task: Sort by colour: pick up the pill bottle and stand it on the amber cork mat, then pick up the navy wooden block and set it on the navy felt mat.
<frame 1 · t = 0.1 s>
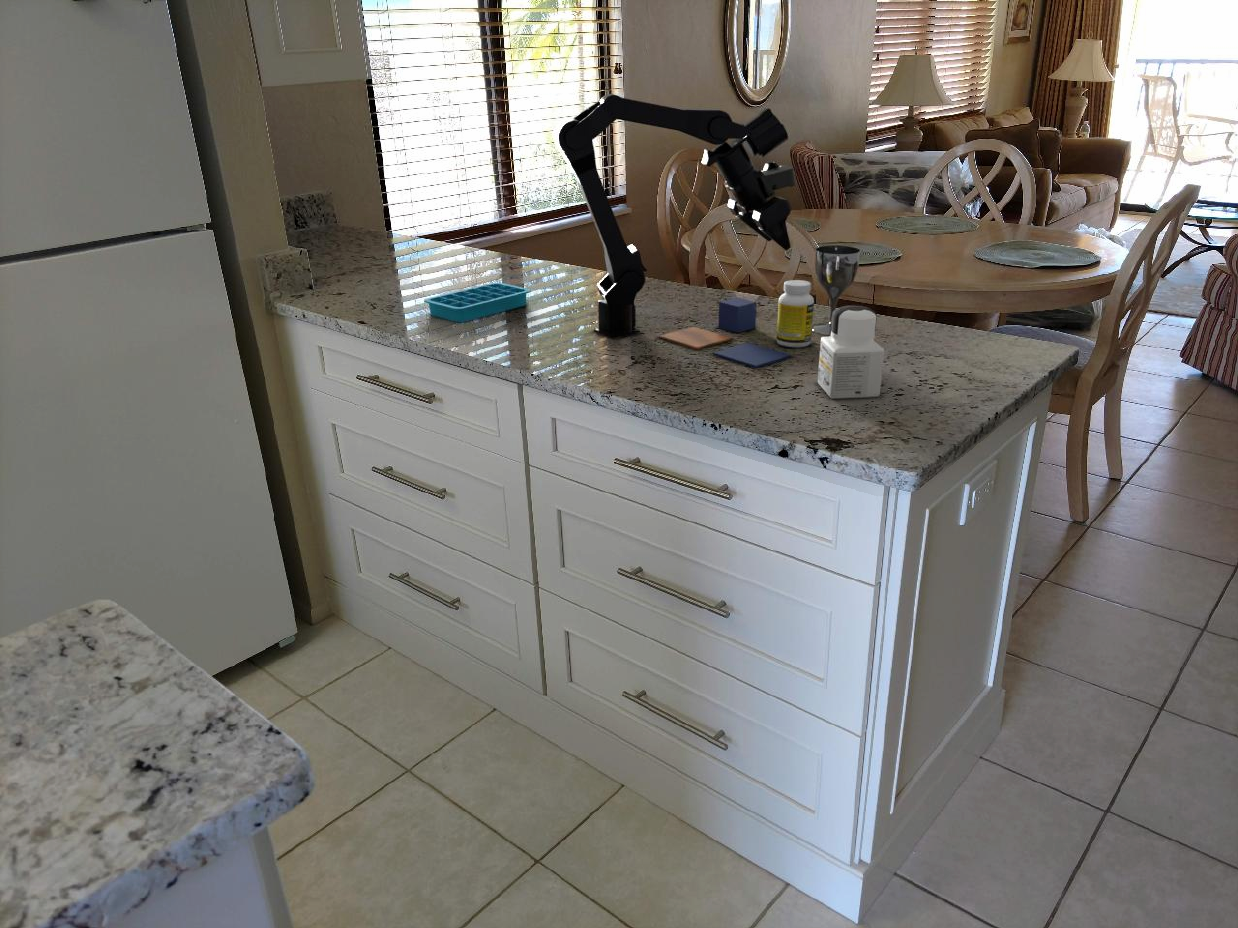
hand: (779, 244, 180), 15 cm above the counter, tool tilted 30°, fingers open, 9 cm apart
navy block: (736, 327, 182), on the counter
container: (847, 391, 150), on the counter
wine glass: (831, 331, 180), on the counter
ice cube tray: (479, 310, 197), on the counter
navy mat: (751, 356, 166), on the counter
pill bottle: (793, 344, 173), on the counter
amber mat: (695, 338, 176), on the counter
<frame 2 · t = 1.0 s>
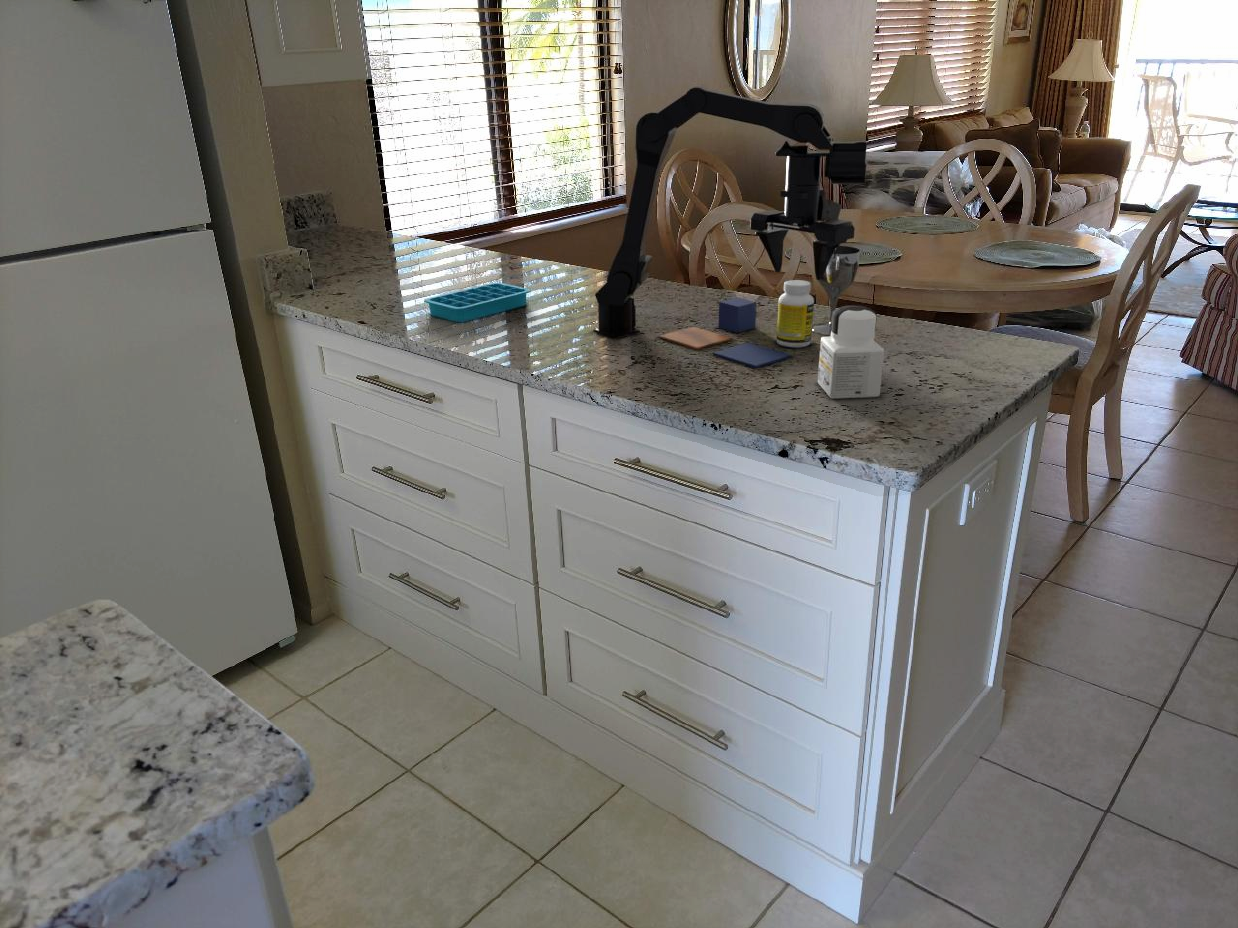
hand: (798, 275, 168), 12 cm above the counter, tool pointing down, fingers open, 9 cm apart
nothing on the counter moved.
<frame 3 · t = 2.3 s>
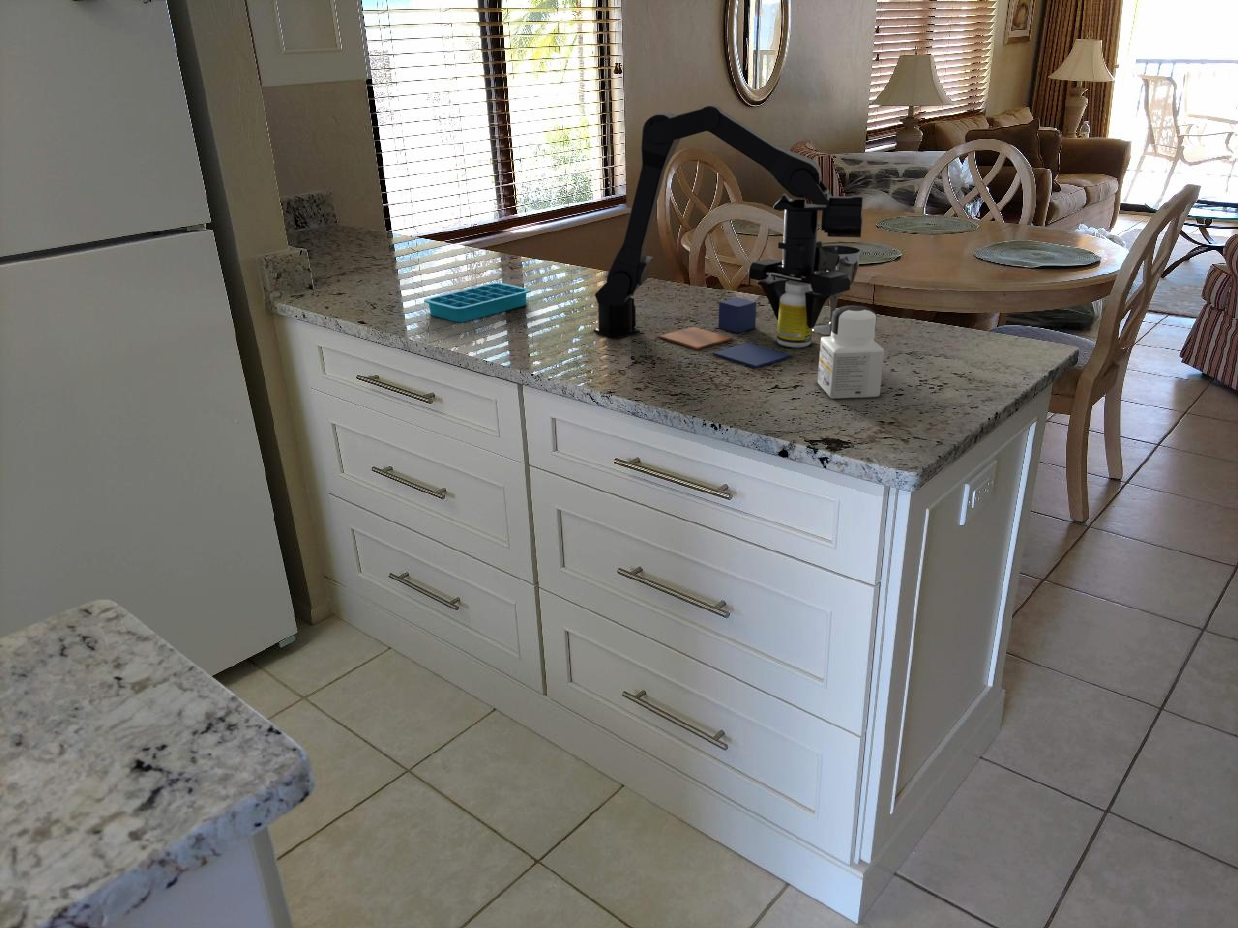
hand: (795, 324, 171), 4 cm above the counter, tool pointing down, fingers closed on pill bottle, 7 cm apart
pill bottle: (793, 344, 173), on the counter, touching gripper
everything else where it was.
when the fingers open (4 cm above the counter, at t = 7.8 s): pill bottle stays where it is, resting on amber mat.
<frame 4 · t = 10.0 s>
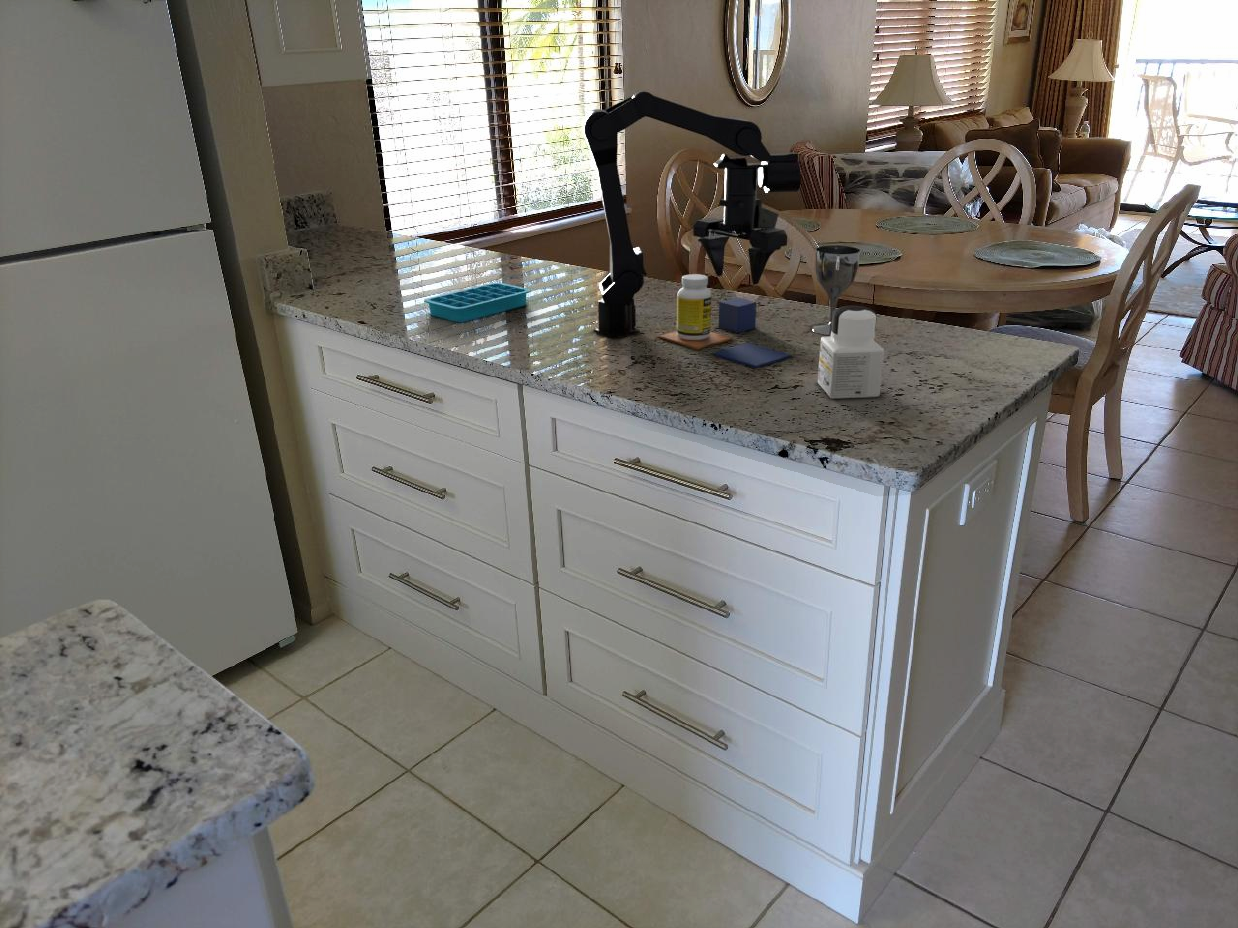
hand: (737, 279, 178), 9 cm above the counter, tool pointing down, fingers open, 9 cm apart
pill bottle: (693, 337, 176), resting on amber mat
everything else where it was.
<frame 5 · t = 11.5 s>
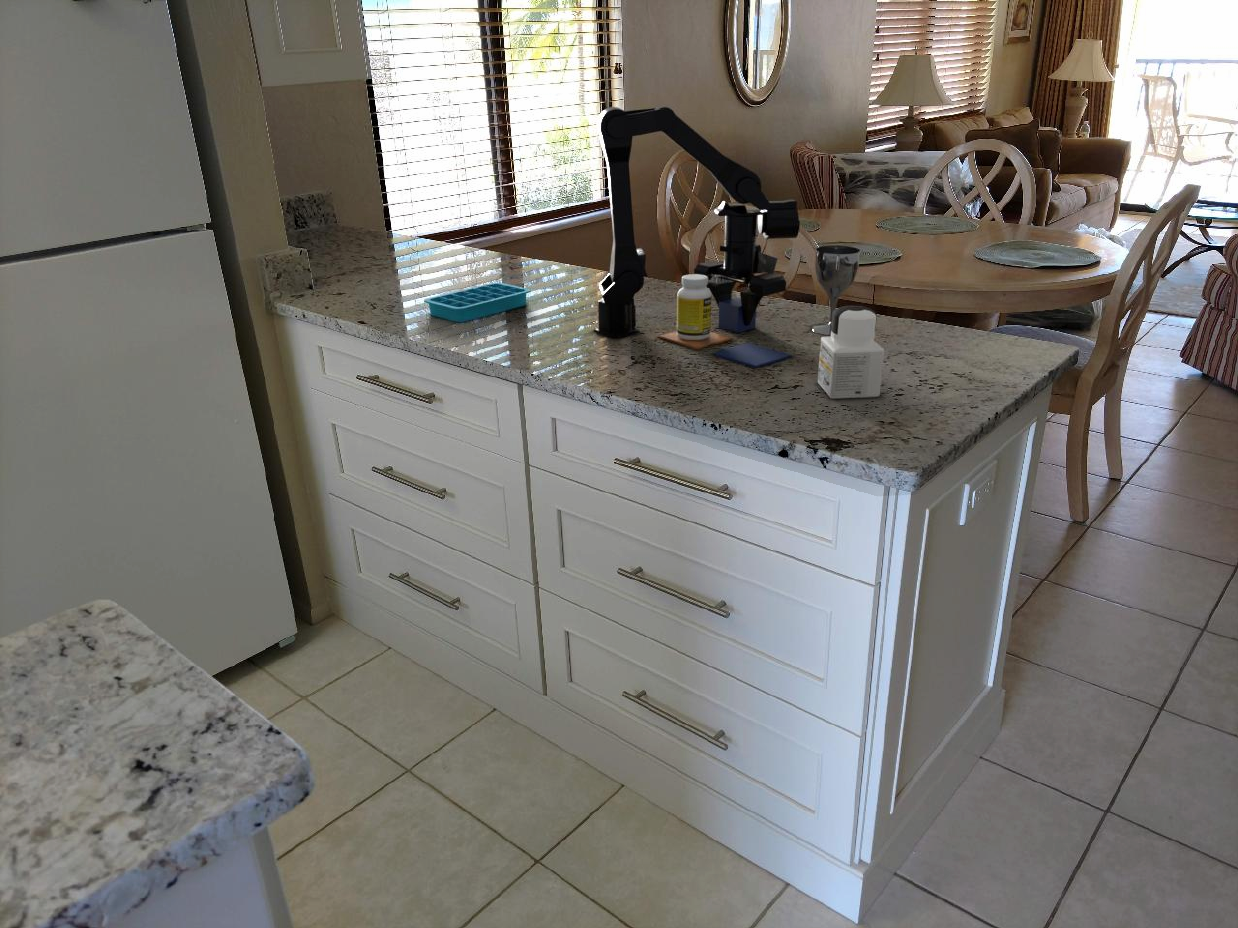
hand: (737, 322, 182), 1 cm above the counter, tool pointing down, fingers closed on navy block, 5 cm apart
navy block: (736, 327, 182), on the counter, touching gripper
everything else where it was.
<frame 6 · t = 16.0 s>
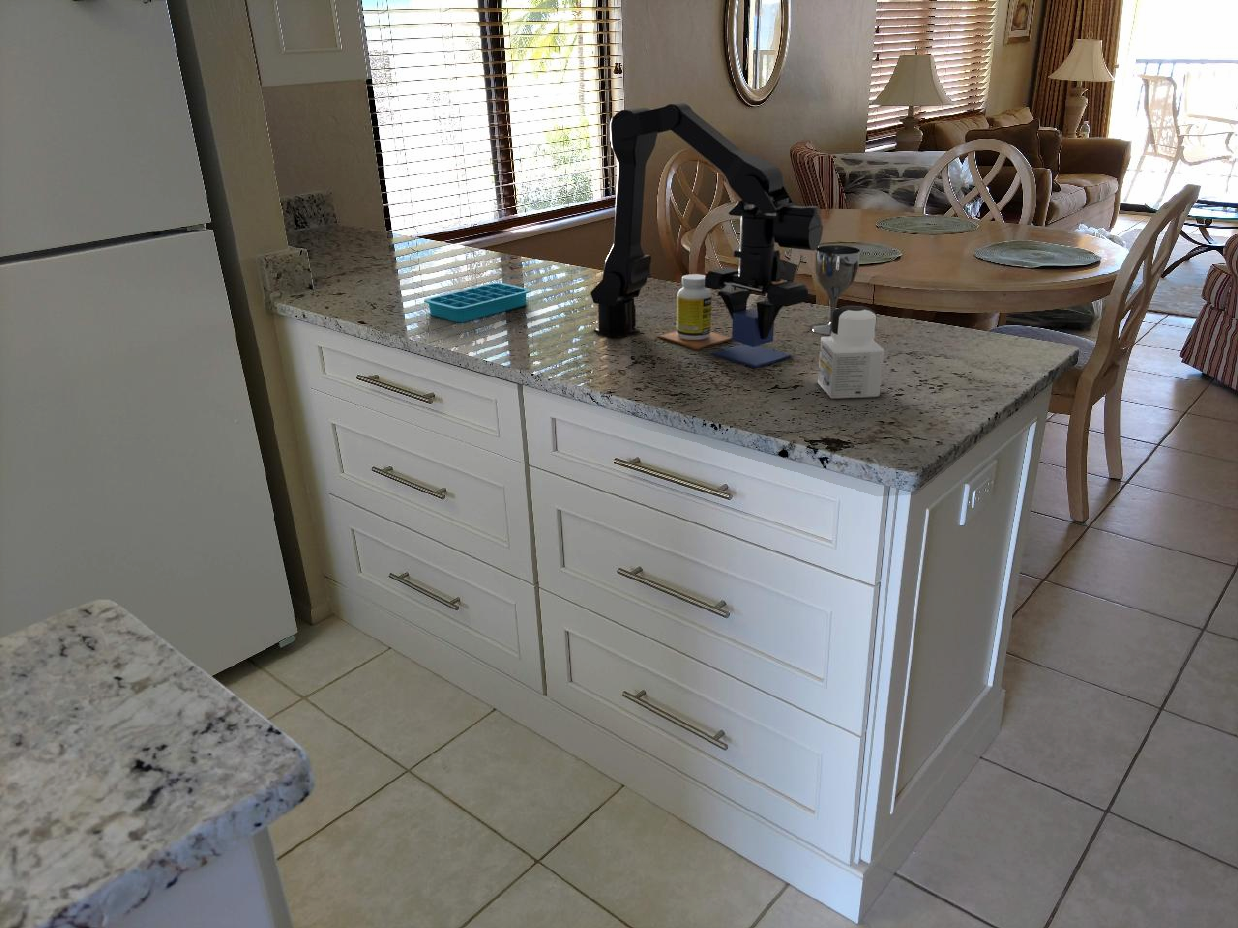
hand: (752, 335, 165), 4 cm above the counter, tool pointing down, fingers closed on navy block, 5 cm apart
navy block: (752, 341, 165), point 3 cm above the counter, touching gripper
everything else where it was.
when the fingers open (1 cm above the counter, at t = 17.1 s): navy block stays where it is, resting on navy mat.
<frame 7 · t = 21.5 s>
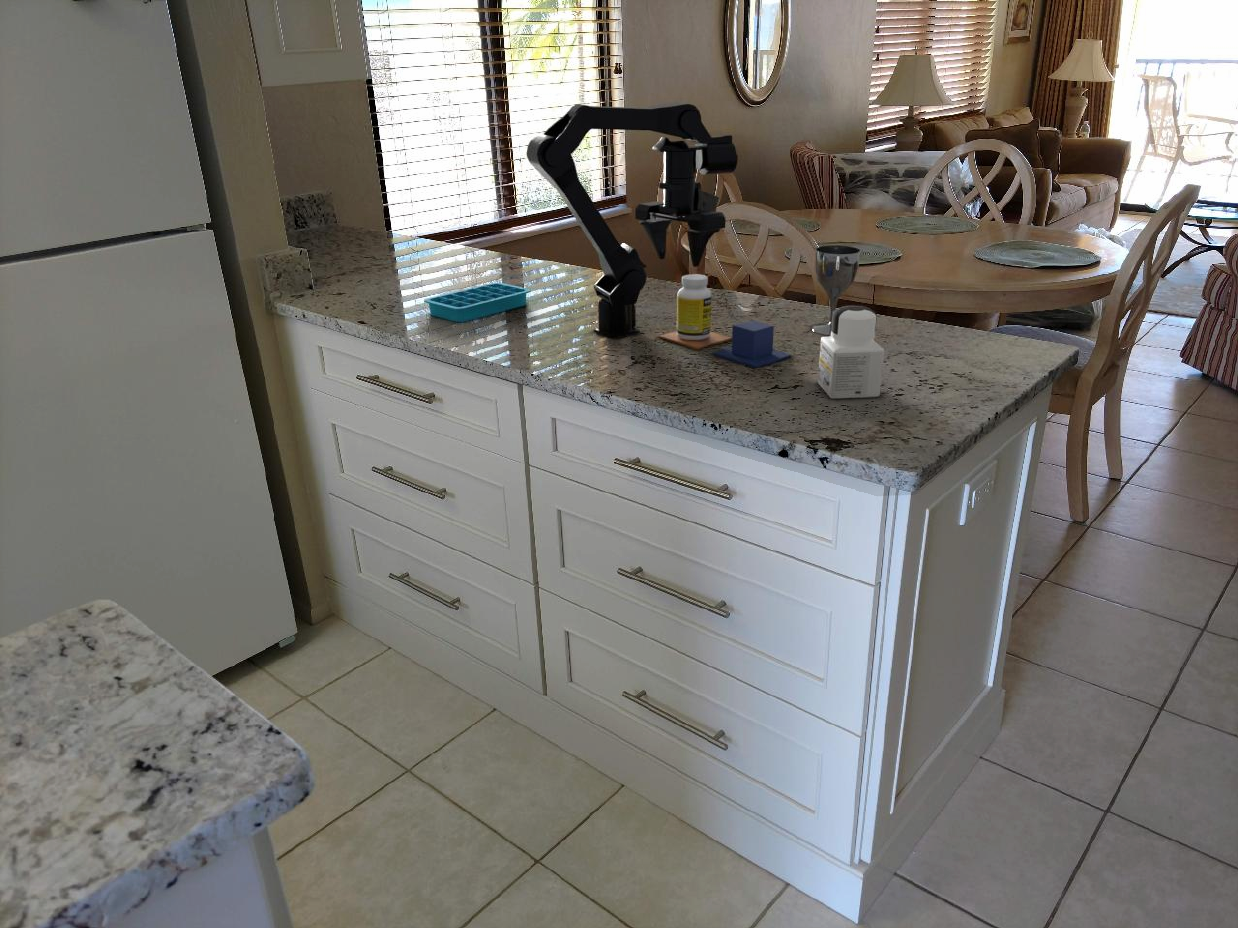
hand: (678, 262, 180), 12 cm above the counter, tool pointing down, fingers open, 9 cm apart
navy block: (751, 353, 166), resting on navy mat
everything else where it was.
at the end: pill bottle inside the target area on the amber mat (0.4 cm from its centre), point 0.2 cm above the amber mat's base; pill bottle tilted 0°; navy block inside the target area on the navy mat (0.1 cm from its centre), point 0.4 cm above the navy mat's base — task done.
